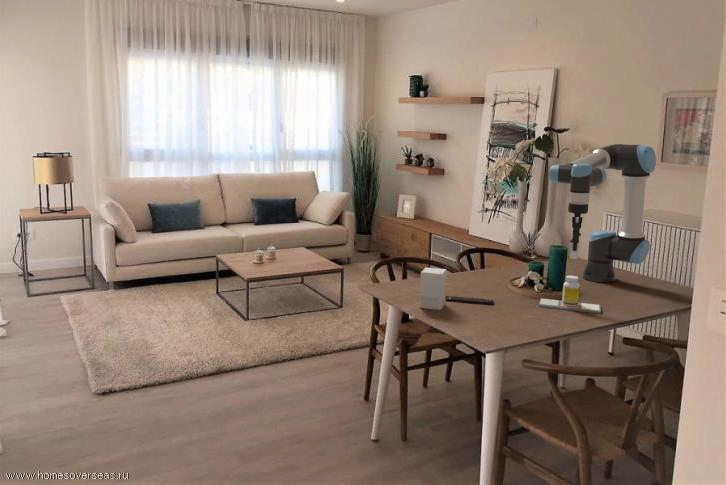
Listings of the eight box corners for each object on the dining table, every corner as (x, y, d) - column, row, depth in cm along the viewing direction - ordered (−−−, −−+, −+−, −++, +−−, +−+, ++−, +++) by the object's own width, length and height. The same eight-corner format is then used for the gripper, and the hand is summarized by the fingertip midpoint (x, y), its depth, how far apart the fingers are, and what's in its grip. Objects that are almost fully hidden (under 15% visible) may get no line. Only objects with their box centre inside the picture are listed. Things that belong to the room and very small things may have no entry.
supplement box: (445, 304, 262) (447, 269, 259) (441, 310, 254) (442, 274, 251) (424, 301, 265) (425, 266, 262) (418, 307, 257) (420, 271, 254)
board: (540, 300, 271) (540, 297, 271) (600, 306, 263) (600, 304, 263) (538, 306, 262) (538, 304, 261) (600, 313, 254) (601, 311, 254)
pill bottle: (579, 307, 259) (581, 279, 256) (562, 306, 260) (564, 278, 257) (577, 302, 265) (579, 275, 262) (561, 301, 266) (563, 274, 264)
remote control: (436, 298, 273) (436, 295, 272) (493, 302, 267) (493, 299, 267) (435, 301, 268) (435, 298, 267) (493, 306, 262) (493, 303, 262)
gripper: (569, 198, 267) (565, 248, 271) (567, 206, 243) (563, 260, 248) (588, 199, 264) (583, 249, 269) (588, 207, 241) (583, 262, 246)
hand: (574, 255), depth 258 cm, fingers open, 13 cm apart
